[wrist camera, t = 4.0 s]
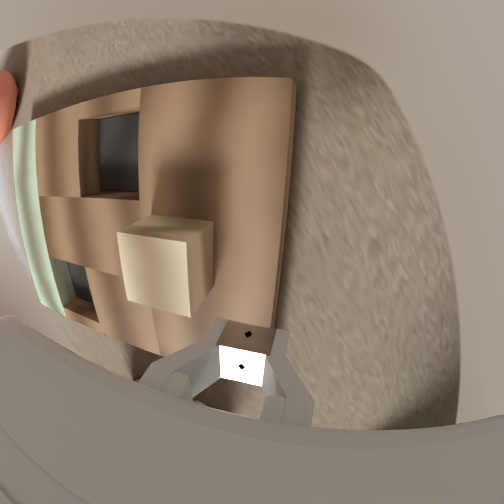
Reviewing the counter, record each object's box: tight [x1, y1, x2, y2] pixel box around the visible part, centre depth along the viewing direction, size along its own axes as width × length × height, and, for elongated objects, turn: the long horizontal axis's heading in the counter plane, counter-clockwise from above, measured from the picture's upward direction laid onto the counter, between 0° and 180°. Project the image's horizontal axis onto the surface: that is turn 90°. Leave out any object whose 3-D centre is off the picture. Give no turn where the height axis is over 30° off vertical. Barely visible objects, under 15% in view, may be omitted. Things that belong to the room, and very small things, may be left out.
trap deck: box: [13, 77, 297, 357], centre depth 22 cm, size 32×24×3 cm
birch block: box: [117, 215, 214, 318], centre depth 18 cm, size 5×5×4 cm
